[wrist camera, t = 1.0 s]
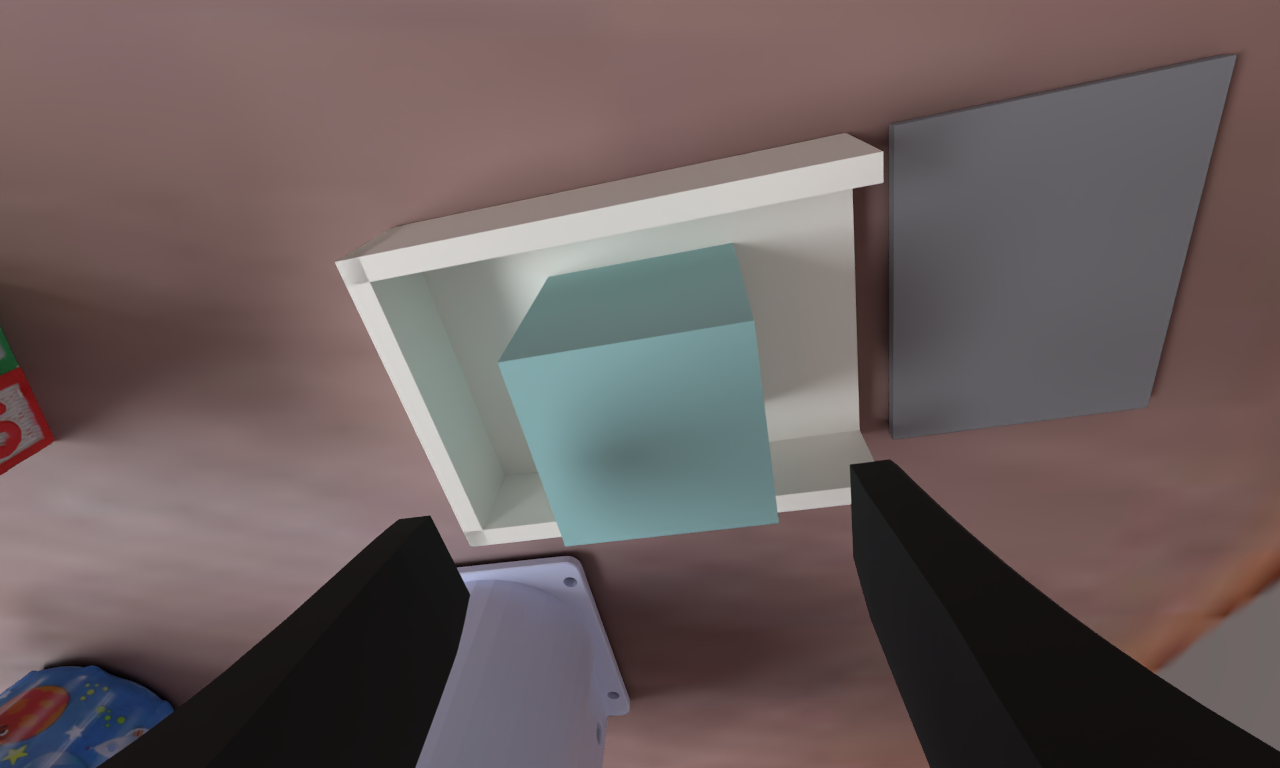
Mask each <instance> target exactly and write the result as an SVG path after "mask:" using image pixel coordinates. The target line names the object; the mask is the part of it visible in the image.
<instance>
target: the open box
mask: <svg viewBox="0 0 1280 768" xmlns="http://www.w3.org/2000/svg"><path fill="white" fill-rule="evenodd" d="M879 183H883V151H881V150H879V149H877V148H875V147H873V146H871V145H869V144H867V143H865V142H863V141H861V140H859V139H857V138H855V137H853V136H851V135H849V134H847V133H843V134H838V135H833V136H828V137H823V138H819V139H814V140H809V141H804V142H799V143H795V144H790V145H785V146H780V147H775V148H771V149H766V150H761V151H756V152H751V153H747V154H742V155H737V156H732V157H727V158H723V159H718V160H713V161H708V162H703V163H699V164H694V165H689V166H684V167H679V168H675V169H670V170H665V171H660V172H655V173H651V174H646V175H641V176H636V177H631V178H627V179H622V180H617V181H612V182H607V183H603V184H598V185H593V186H588V187H583V188H579V189H574V190H569V191H564V192H559V193H555V194H550V195H545V196H540V197H535V198H531V199H526V200H521V201H516V202H511V203H507V204H502V205H497V206H492V207H487V208H483V209H478V210H473V211H468V212H463V213H459V214H454V215H449V216H444V217H439V218H435V219H430V220H425V221H420V222H415V223H411V224H406V225H401V226H396V227H392V228H390V229H388V230H387V231H385V232H383V233H382V234H380V235H378V236H377V237H375V238H373V239H372V240H370V241H368V242H367V243H365V244H364V245H362V246H360V247H359V248H357V249H355V250H354V251H352V252H350V253H349V254H347V255H345V256H344V257H342V258H340V259H339V260H337V261H335V264H336V266H337V268H338V270H339V272H340V274H341V276H342V278H343V281H344V283H345V285H346V287H347V289H348V291H349V293H350V295H351V297H352V299H353V301H354V304H355V306H356V308H357V310H358V312H359V314H360V316H361V318H362V320H363V322H364V325H365V327H366V329H367V331H368V333H369V335H370V337H371V339H372V341H373V343H374V346H375V348H376V350H377V352H378V354H379V356H380V358H381V360H382V362H383V364H384V366H385V369H386V371H387V373H388V375H389V377H390V379H391V381H392V383H393V385H394V387H395V390H396V392H397V394H398V396H399V398H400V400H401V402H402V404H403V406H404V408H405V411H406V413H407V415H408V417H409V419H410V421H411V423H412V425H413V427H414V429H415V432H416V434H417V436H418V438H419V440H420V442H421V444H422V446H423V448H424V450H425V452H426V455H427V457H428V459H429V461H430V463H431V465H432V467H433V469H434V471H435V473H436V476H437V478H438V480H439V482H440V484H441V486H442V488H443V490H444V492H445V494H446V497H447V499H448V501H449V503H450V505H451V507H452V509H453V511H454V513H455V515H456V517H457V520H458V522H459V524H460V526H461V528H462V530H463V532H464V534H465V536H466V538H467V541H468V543H469V545H470V547H474V546H483V545H492V544H501V543H510V542H519V541H528V540H537V539H546V538H555V537H562V536H561V533H560V531H559V528H558V525H557V523H556V520H555V517H554V514H553V512H552V509H551V506H550V504H549V501H548V498H547V495H546V493H545V490H544V487H543V485H542V482H541V479H540V476H539V474H538V471H537V468H536V466H535V463H534V460H533V457H532V455H531V452H530V449H529V447H528V444H527V441H526V438H525V436H524V433H523V430H522V428H521V425H520V422H519V419H518V417H517V414H516V411H515V409H514V406H513V403H512V400H511V398H510V395H509V392H508V390H507V387H506V384H505V381H504V379H503V376H502V373H501V371H500V368H499V365H498V361H499V359H500V358H501V356H502V354H503V352H504V351H505V349H506V347H507V346H508V344H509V342H510V341H511V339H512V337H513V336H514V334H515V332H516V331H517V329H518V327H519V325H520V324H521V322H522V320H523V319H524V317H525V315H526V314H527V312H528V310H529V309H530V307H531V305H532V304H533V302H534V300H535V298H536V297H537V295H538V293H539V292H540V290H541V288H542V287H543V285H544V283H545V282H546V280H547V278H548V277H550V276H556V275H561V274H567V273H572V272H577V271H583V270H588V269H594V268H599V267H604V266H610V265H615V264H621V263H626V262H631V261H637V260H642V259H648V258H653V257H658V256H664V255H669V254H675V253H680V252H685V251H691V250H696V249H702V248H707V247H712V246H718V245H723V244H729V243H733V244H734V248H735V252H736V255H737V259H738V263H739V266H740V270H741V274H742V278H743V281H744V285H745V289H746V292H747V296H748V300H749V303H750V307H751V311H752V314H753V318H754V323H755V331H756V340H757V348H758V356H759V364H760V372H761V381H762V389H763V397H764V405H765V413H766V421H767V430H768V438H769V446H770V454H771V462H772V471H773V479H774V487H775V495H776V503H777V511H778V512H787V511H796V510H805V509H813V508H822V507H831V506H840V505H849V504H851V485H850V464H858V463H866V462H874V459H873V457H872V455H871V453H870V451H869V449H868V447H867V444H866V442H865V440H864V438H863V436H862V434H861V432H860V425H859V392H858V358H857V324H856V291H855V257H854V223H853V190H852V189H853V188H858V187H864V186H869V185H874V184H879Z"/></svg>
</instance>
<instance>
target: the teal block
mask: <svg viewBox="0 0 1280 768" xmlns="http://www.w3.org/2000/svg"><path fill="white" fill-rule="evenodd" d="M498 365H499V368H500V371H501V373H502V376H503V379H504V381H505V384H506V387H507V390H508V392H509V395H510V398H511V400H512V403H513V406H514V409H515V411H516V414H517V417H518V419H519V422H520V425H521V428H522V430H523V433H524V436H525V438H526V441H527V444H528V447H529V449H530V452H531V455H532V457H533V460H534V463H535V466H536V468H537V471H538V474H539V476H540V479H541V482H542V485H543V487H544V490H545V493H546V495H547V498H548V501H549V504H550V506H551V509H552V512H553V514H554V517H555V520H556V523H557V525H558V528H559V531H560V533H561V536H562V539H563V542H564V544H565V546H574V545H583V544H593V543H602V542H611V541H620V540H629V539H638V538H648V537H657V536H666V535H675V534H684V533H693V532H703V531H712V530H721V529H730V528H739V527H748V526H757V525H767V524H776V523H779V520H778V511H777V503H776V495H775V487H774V479H773V471H772V462H771V454H770V446H769V438H768V430H767V421H766V413H765V405H764V397H763V389H762V381H761V372H760V364H759V356H758V348H757V340H756V331H755V323H754V318H753V314H752V311H751V307H750V303H749V300H748V296H747V292H746V289H745V285H744V281H743V278H742V274H741V270H740V266H739V263H738V259H737V255H736V252H735V248H734V244H733V243H729V244H723V245H718V246H712V247H707V248H702V249H696V250H691V251H685V252H680V253H675V254H669V255H664V256H658V257H653V258H648V259H642V260H637V261H631V262H626V263H621V264H615V265H610V266H604V267H599V268H594V269H588V270H583V271H577V272H572V273H567V274H561V275H556V276H550V277H548V278H547V280H546V282H545V283H544V285H543V287H542V288H541V290H540V292H539V293H538V295H537V297H536V298H535V300H534V302H533V304H532V305H531V307H530V309H529V310H528V312H527V314H526V315H525V317H524V319H523V320H522V322H521V324H520V325H519V327H518V329H517V331H516V332H515V334H514V336H513V337H512V339H511V341H510V342H509V344H508V346H507V347H506V349H505V351H504V352H503V354H502V356H501V358H500V359H499V361H498Z"/></svg>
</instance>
